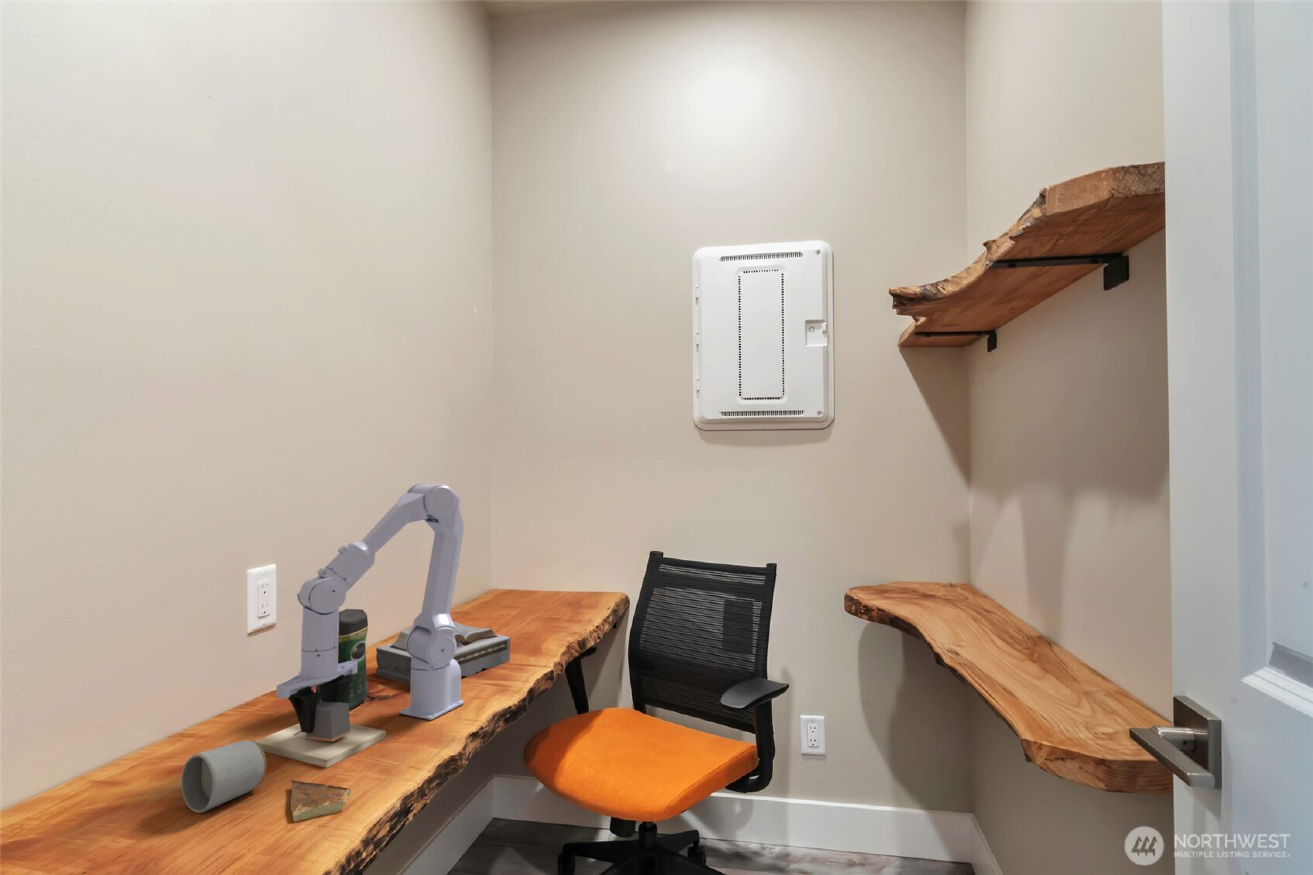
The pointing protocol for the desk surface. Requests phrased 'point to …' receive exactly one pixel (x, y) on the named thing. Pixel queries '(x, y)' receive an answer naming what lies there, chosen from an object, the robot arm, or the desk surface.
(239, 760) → the ceramic mug
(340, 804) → the shard
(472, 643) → the bible
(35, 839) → the desk surface
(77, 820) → the desk surface
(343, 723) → the block
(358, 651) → the coffee jar
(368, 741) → the cream flat board
